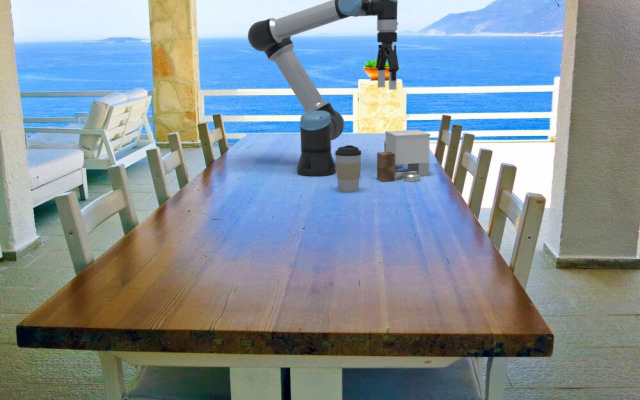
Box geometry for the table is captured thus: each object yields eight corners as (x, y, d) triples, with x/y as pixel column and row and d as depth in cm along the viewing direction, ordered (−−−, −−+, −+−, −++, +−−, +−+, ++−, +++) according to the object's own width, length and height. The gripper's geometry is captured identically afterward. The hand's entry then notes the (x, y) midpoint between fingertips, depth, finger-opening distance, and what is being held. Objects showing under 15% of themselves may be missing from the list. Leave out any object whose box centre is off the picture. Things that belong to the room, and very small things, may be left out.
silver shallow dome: (408, 183, 247) (408, 176, 246) (400, 180, 252) (400, 173, 251) (423, 181, 249) (423, 174, 248) (414, 178, 254) (414, 172, 254)
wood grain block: (381, 181, 249) (381, 154, 246) (377, 179, 253) (377, 152, 251) (419, 179, 252) (419, 152, 250) (413, 176, 257) (414, 150, 255)
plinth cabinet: (395, 177, 255) (395, 135, 252) (385, 171, 267) (385, 131, 263) (429, 175, 258) (430, 133, 255) (417, 169, 270) (418, 129, 266)
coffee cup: (359, 193, 232) (359, 149, 228) (333, 192, 233) (332, 148, 230) (363, 187, 240) (363, 144, 237) (337, 186, 242) (337, 144, 239)
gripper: (408, 31, 249) (407, 90, 254) (386, 31, 273) (385, 86, 277) (388, 31, 247) (387, 90, 252) (368, 32, 271) (368, 86, 276)
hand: (386, 88), depth 265 cm, fingers open, 13 cm apart
